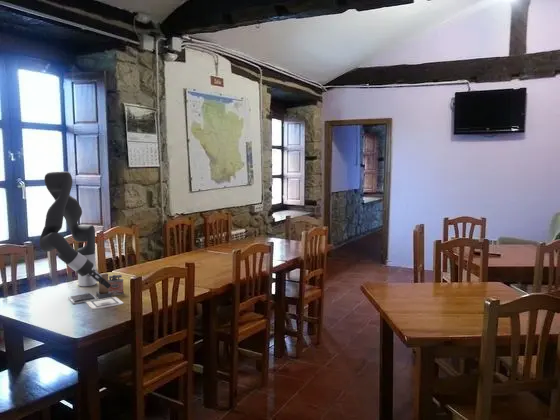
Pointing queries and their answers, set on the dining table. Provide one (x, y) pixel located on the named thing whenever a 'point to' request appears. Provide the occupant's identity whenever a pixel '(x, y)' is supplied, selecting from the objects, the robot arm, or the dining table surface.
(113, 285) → the lighter
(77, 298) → the ink pad
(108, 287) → the robot arm
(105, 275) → the stamp
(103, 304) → the marked board
